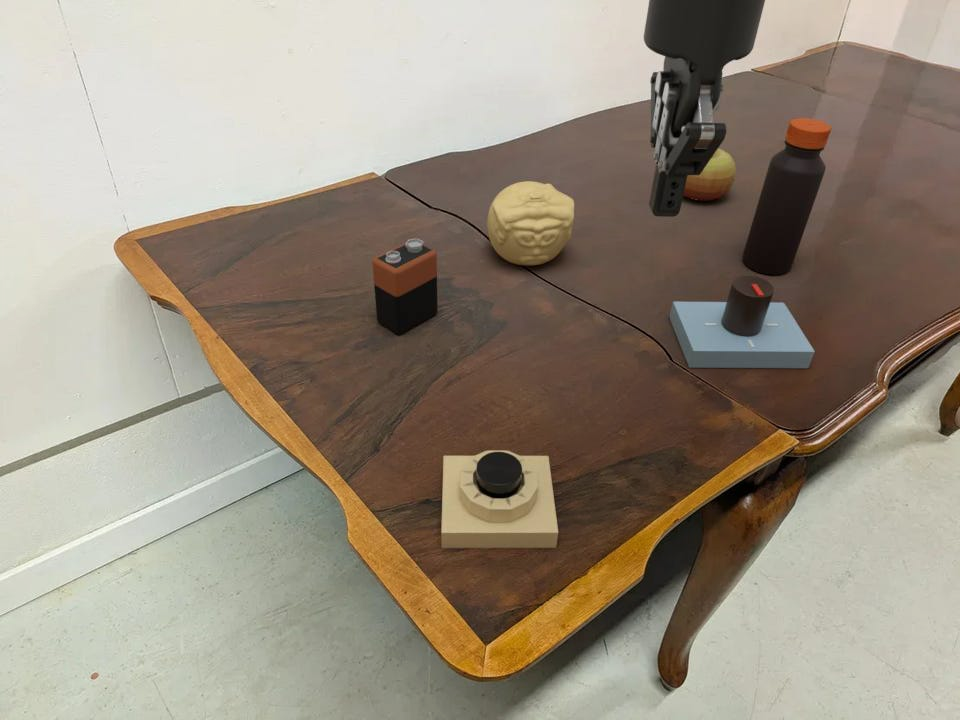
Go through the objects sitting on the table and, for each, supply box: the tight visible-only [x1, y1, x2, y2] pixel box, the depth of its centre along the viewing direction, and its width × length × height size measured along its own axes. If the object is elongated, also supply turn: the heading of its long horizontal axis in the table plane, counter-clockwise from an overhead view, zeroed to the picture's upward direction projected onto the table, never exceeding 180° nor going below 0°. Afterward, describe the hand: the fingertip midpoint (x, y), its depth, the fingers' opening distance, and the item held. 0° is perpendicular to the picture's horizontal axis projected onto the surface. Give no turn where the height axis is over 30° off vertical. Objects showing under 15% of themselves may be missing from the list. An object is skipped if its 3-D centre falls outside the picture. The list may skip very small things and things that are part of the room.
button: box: [476, 452, 522, 498], centre depth 62 cm, size 4×4×2 cm
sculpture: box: [486, 180, 575, 267], centre depth 98 cm, size 12×12×11 cm
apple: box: [683, 148, 737, 201], centre depth 115 cm, size 10×10×8 cm
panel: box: [669, 301, 816, 369], centre depth 85 cm, size 14×10×3 cm
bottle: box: [741, 117, 832, 276], centre depth 94 cm, size 7×7×20 cm
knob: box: [721, 275, 775, 336], centre depth 83 cm, size 5×5×6 cm
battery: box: [371, 238, 439, 335], centre depth 85 cm, size 4×7×10 cm, turn 137°
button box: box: [440, 449, 559, 549], centre depth 64 cm, size 10×9×4 cm
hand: (663, 211), depth 58 cm, fingers closed
